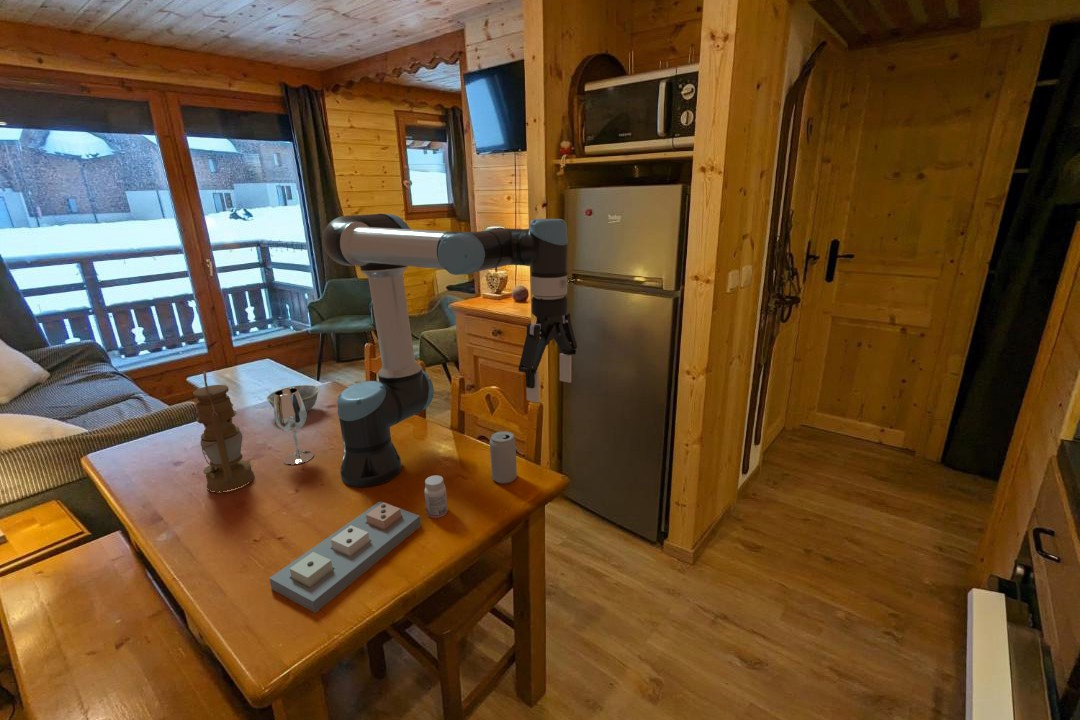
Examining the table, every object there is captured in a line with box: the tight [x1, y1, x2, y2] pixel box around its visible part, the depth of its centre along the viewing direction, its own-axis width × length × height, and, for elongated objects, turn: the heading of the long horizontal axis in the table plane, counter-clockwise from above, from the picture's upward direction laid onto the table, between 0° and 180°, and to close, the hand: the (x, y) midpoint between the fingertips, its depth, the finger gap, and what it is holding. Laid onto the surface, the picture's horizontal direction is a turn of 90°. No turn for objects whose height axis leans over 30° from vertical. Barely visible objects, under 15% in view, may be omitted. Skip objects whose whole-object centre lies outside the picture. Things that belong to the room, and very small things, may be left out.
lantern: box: [192, 370, 255, 492], centre depth 122 cm, size 15×10×30 cm
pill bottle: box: [424, 474, 449, 519], centre depth 111 cm, size 5×5×8 cm
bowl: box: [266, 384, 320, 414], centre depth 166 cm, size 16×16×8 cm
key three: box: [366, 501, 402, 531], centre depth 106 cm, size 5×5×3 cm
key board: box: [268, 501, 422, 614], centre depth 99 cm, size 27×12×2 cm, turn 151°
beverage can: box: [489, 430, 518, 485], centre depth 123 cm, size 6×6×12 cm
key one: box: [289, 552, 333, 588], centre depth 91 cm, size 5×5×3 cm
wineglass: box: [273, 387, 314, 466], centre depth 134 cm, size 8×8×20 cm
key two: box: [331, 525, 370, 557], centre depth 98 cm, size 5×5×3 cm
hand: (550, 390), depth 109 cm, fingers open, 13 cm apart
